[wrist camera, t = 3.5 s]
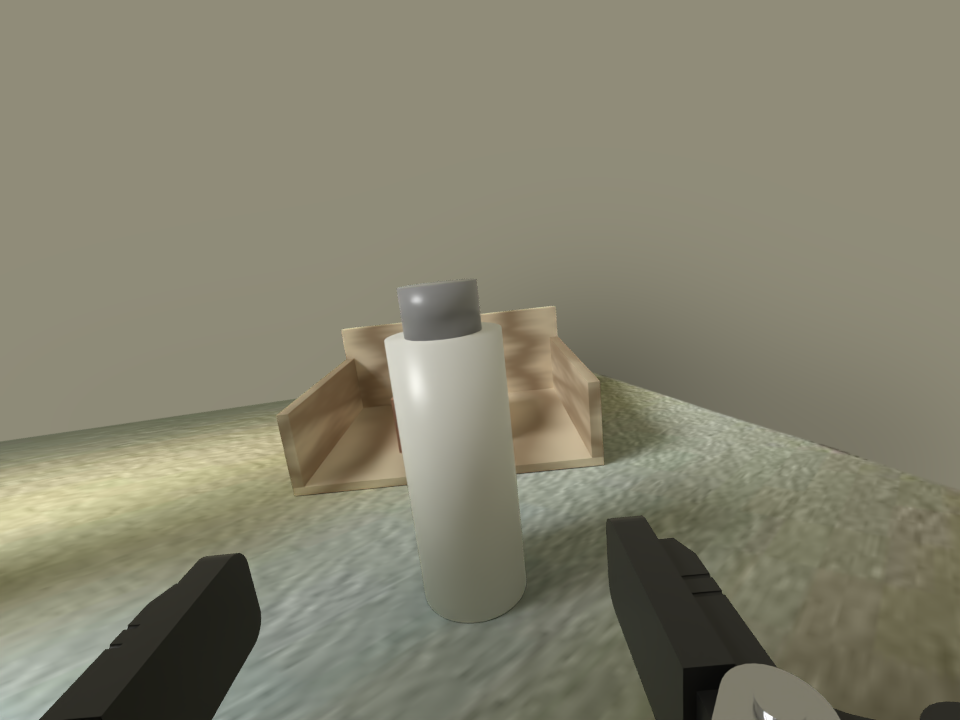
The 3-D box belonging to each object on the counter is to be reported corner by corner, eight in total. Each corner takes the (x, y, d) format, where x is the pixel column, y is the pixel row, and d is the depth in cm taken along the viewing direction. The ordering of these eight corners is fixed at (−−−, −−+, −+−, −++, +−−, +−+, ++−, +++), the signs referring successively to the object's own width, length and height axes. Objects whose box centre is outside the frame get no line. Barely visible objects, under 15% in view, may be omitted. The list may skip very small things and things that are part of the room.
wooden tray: (294, 496, 31) (266, 372, 29) (358, 411, 48) (343, 329, 45) (604, 464, 31) (597, 336, 28) (560, 390, 47) (554, 305, 45)
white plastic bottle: (418, 628, 19) (362, 295, 16) (430, 553, 23) (389, 285, 20) (532, 617, 19) (499, 280, 15) (521, 544, 23) (494, 274, 20)
